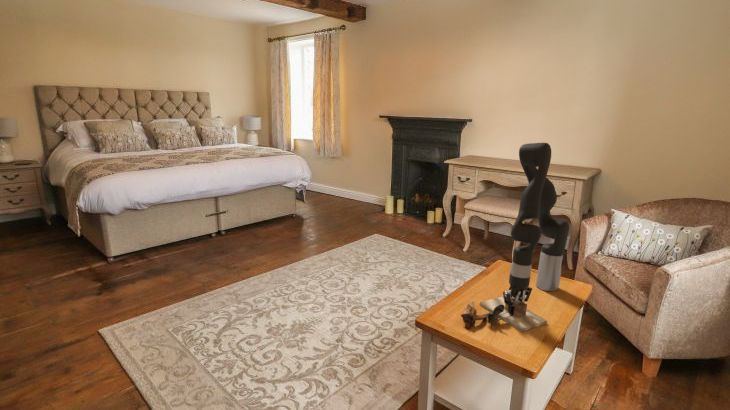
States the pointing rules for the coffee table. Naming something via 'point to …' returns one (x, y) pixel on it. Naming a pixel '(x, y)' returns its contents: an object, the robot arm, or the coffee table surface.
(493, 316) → the eagle figurine
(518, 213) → the robot arm
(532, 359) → the coffee table surface
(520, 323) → the birch board
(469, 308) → the lashed bone hook
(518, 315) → the block
